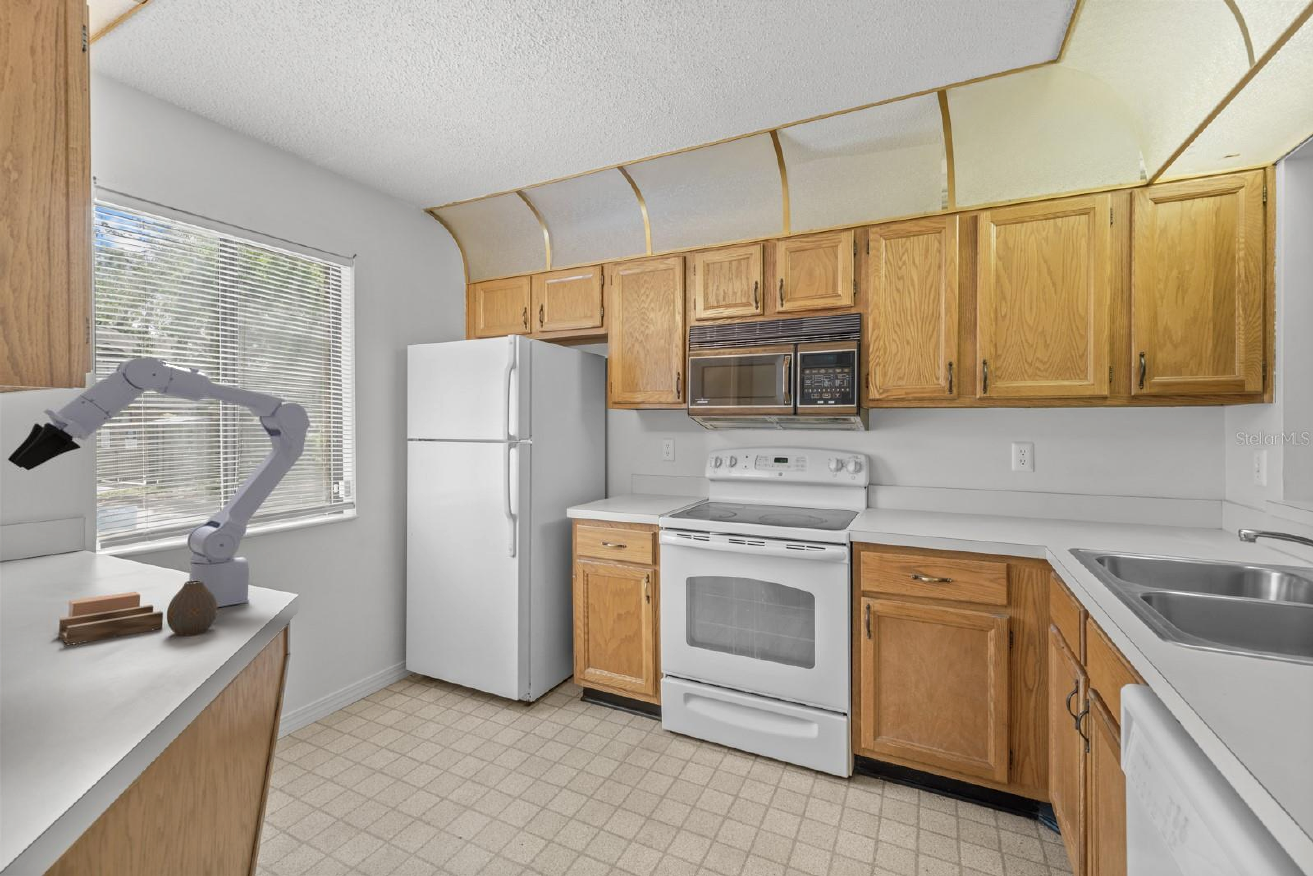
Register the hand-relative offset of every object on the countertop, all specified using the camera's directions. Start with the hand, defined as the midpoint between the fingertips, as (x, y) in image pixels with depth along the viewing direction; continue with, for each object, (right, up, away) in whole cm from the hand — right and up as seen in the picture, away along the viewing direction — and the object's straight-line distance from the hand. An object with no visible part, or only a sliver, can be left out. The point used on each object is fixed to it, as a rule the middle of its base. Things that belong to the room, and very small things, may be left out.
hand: (17, 465), depth 98 cm
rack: (+12, -29, +4) cm, 31 cm away
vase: (+24, -30, +5) cm, 39 cm away
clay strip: (+6, -29, +9) cm, 31 cm away
